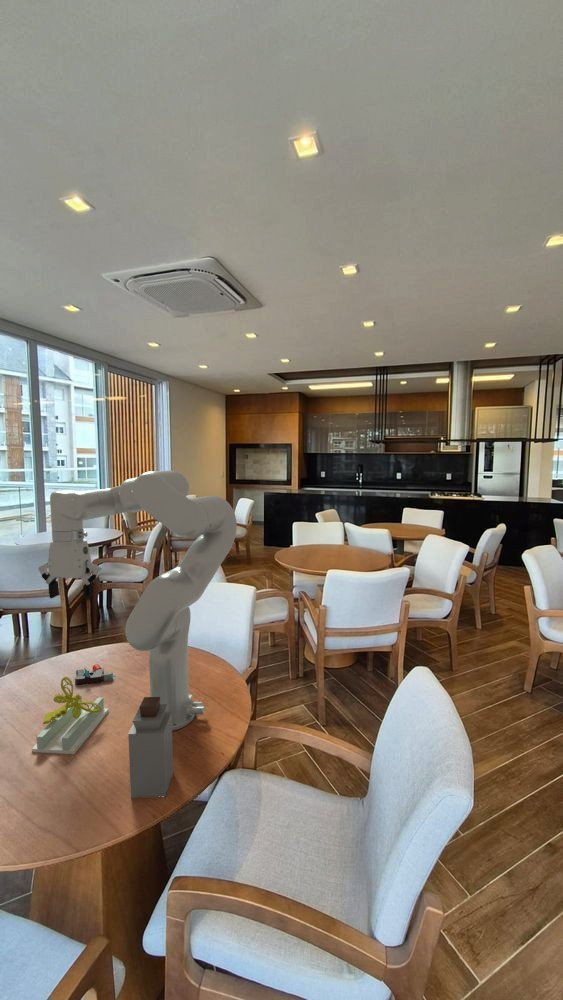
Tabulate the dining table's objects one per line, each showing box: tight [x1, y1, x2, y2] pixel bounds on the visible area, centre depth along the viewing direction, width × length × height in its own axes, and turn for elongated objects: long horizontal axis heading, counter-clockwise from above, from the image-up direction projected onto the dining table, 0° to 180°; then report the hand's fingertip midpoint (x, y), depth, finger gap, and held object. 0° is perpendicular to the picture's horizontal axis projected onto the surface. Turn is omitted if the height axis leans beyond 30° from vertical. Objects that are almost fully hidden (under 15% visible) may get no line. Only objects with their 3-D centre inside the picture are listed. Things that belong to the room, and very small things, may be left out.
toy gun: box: [74, 663, 116, 687], centre depth 127 cm, size 10×12×5 cm
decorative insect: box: [42, 676, 101, 725], centre depth 100 cm, size 13×3×10 cm
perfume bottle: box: [127, 696, 174, 799], centre depth 84 cm, size 7×7×18 cm
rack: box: [31, 696, 110, 755], centre depth 102 cm, size 10×16×4 cm, turn 176°
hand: (71, 597), depth 115 cm, fingers open, 9 cm apart
